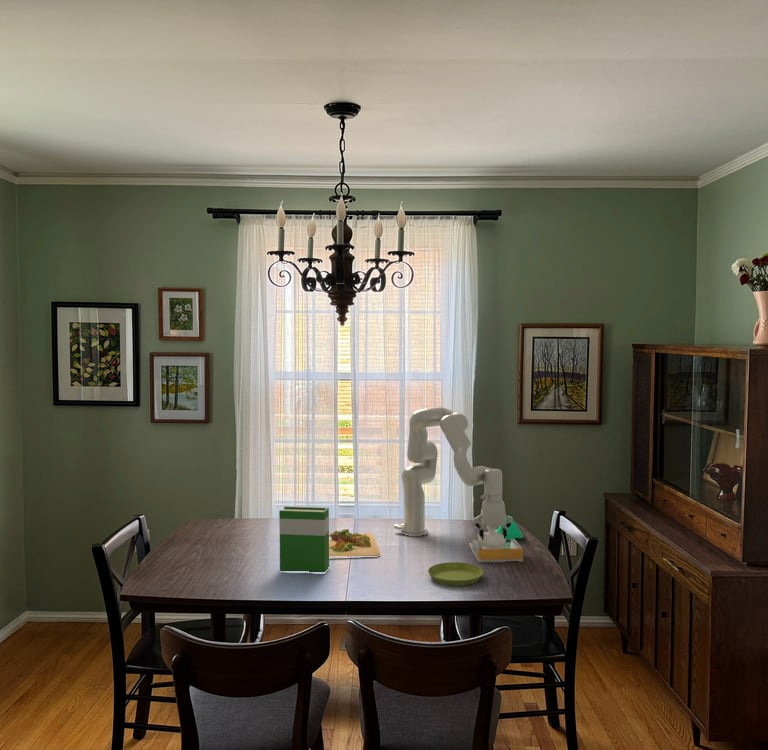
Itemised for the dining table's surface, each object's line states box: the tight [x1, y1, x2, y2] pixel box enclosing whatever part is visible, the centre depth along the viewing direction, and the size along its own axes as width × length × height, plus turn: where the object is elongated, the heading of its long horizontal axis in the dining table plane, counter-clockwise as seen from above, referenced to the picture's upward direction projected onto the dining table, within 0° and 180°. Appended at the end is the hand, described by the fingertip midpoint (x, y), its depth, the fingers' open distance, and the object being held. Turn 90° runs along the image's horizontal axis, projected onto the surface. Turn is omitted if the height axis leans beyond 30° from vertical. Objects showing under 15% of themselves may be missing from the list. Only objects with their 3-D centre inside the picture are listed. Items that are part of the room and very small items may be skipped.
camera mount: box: [495, 515, 524, 541], centre depth 313 cm, size 12×8×10 cm, turn 87°
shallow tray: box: [468, 538, 524, 563], centre depth 290 cm, size 18×24×5 cm
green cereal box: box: [278, 506, 330, 572], centre depth 267 cm, size 18×7×24 cm, turn 82°
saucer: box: [427, 561, 484, 587], centre depth 258 cm, size 21×21×3 cm
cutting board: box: [329, 528, 381, 557], centre depth 300 cm, size 35×23×8 cm
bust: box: [477, 526, 507, 549], centre depth 294 cm, size 12×8×11 cm
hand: (492, 538), depth 293 cm, fingers closed on bust, 9 cm apart
